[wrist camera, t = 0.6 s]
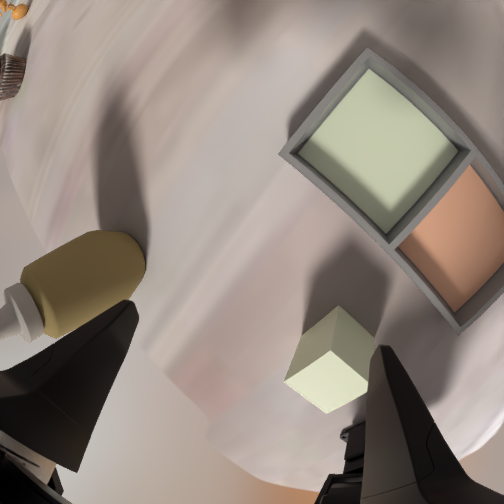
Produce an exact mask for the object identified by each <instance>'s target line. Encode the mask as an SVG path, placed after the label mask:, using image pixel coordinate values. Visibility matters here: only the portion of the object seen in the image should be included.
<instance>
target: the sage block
mask: <svg viewBox="0 0 504 504" xmlns="http://www.w3.org/2000/svg"><path fill="white" fill-rule="evenodd" d="M374 352H375V343H374V337H373V336H372V335H371V334H370V333H369V332H367V331H366V330H365V329H364V328H363V327H362V326H361V325H360V324H359V323H358V322H357V321H356V320H355V319H354V318H353V317H351V316H350V315H349V314H348V313H347V312H346V311H345V310H344V309H343V308H342V307H341V306H340V305H338V306H337V307H335V308H334V309H333V310H332V311H331V312H329V313H328V314H327V315H326V316H325V317H324V318H322V319H321V320H320V321H319V322H318V323H316V324H315V325H314V326H313V327H311V328H310V329H309V330H308V331H306V332H305V333H304V334H303V335H301V338H300V341H299V344H298V346H297V349H296V352H295V354H294V357H293V359H292V362H291V365H290V367H289V370H288V372H287V375H286V377H285V380H284V382H285V383H286V384H287V385H288V386H290V387H291V388H292V389H294V390H295V391H296V392H298V393H299V394H300V395H302V396H303V397H304V398H306V399H307V400H308V401H310V402H311V403H312V404H314V405H315V406H316V407H318V408H319V409H321V410H322V411H323V412H325V413H326V414H327V413H329V412H331V411H333V410H335V409H337V408H339V407H341V406H343V405H345V404H347V403H348V402H350V401H352V400H354V399H356V398H357V397H359V396H361V395H363V394H364V393H366V392H367V388H368V378H369V365H370V359H371V357H372V355H373V354H374Z"/></svg>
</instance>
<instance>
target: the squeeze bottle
mask: <svg viewBox="0 0 504 504" xmlns="http://www.w3.org/2000/svg"><path fill="white" fill-rule="evenodd" d="M144 274H145V260H144V256H143V252H142V250H141V249H140V247H139V245H138V243H137V242H136V241H135V240H134V239H133V238H132V237H131V236H130V235H128V234H126V233H123V232H115V231H101V230H96V231H90V232H87V233H85V234H83V235H81V236H79V237H77V238H75V239H73V240H72V241H70V242H68V243H66V244H64V245H62V246H60V247H59V248H57V249H55V250H53V251H51V252H50V253H48V254H46V255H44V256H43V257H41V258H39V259H38V260H36V261H34V262H32V263H31V264H29V265H27V266H26V267H24V269H23V272H22V275H21V279H20V282H21V283H17V284H15V285H13V286H10V287H8V288H6V289H5V291H4V300H5V305H4V306H3V307H2V308H1V309H0V340H1V339H4V338H8V337H11V336H14V335H17V334H20V335H21V336H22V338H23V339H24V340H25V341H27V342H28V343H30V342H32V341H33V340H35V339H36V338H38V337H40V336H41V335H42V334H43V333H45V334H46V335H48V336H51V337H53V338H56V339H57V338H59V337H60V336H63V335H64V334H66V333H68V332H70V331H72V330H74V329H76V328H78V327H80V326H82V325H83V324H85V323H86V322H88V321H90V320H91V319H93V318H94V317H96V316H98V315H99V314H101V313H102V312H104V311H106V310H107V309H109V308H110V307H112V306H114V305H115V304H117V303H118V302H120V301H122V300H124V299H126V300H129V298H130V297H131V295H132V294H133V292H134V291H135V289H136V288H137V286H138V285H139V283H140V282H141V281H142V278H143V276H144Z"/></svg>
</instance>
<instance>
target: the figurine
mask: <svg viewBox="0 0 504 504" xmlns="http://www.w3.org/2000/svg"><path fill="white" fill-rule="evenodd" d="M0 5H1V6H0V7H1V8H2V10H3V12H6V11H8V10H10V9H11V10H12V18H13V19H14V20H18V19H21V18H22V17H24V16H25V14H26V13H27V10H28V7H27V5H26V4H20V5H18V6H16V7H15V6H14V5H13V4H11V3H10V4H9V5H7V1H6V0H0ZM9 6H12V7H9ZM7 7H9V8H7ZM6 8H7V9H6ZM0 15H1V16H2V14H1V13H0Z"/></svg>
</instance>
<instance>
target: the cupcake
mask: <svg viewBox="0 0 504 504" xmlns="http://www.w3.org/2000/svg"><path fill="white" fill-rule="evenodd" d="M25 68H26V61H25V59H24V58H20V57H16V56H12V55H9V54H6V53H4V54H3V55H1V56H0V101H1V100H5V99H8V98H12V97H15V95H16V94H17V93H18V91H19V89H20V86H21V84H22V81H23V78H24V74H25Z"/></svg>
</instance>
